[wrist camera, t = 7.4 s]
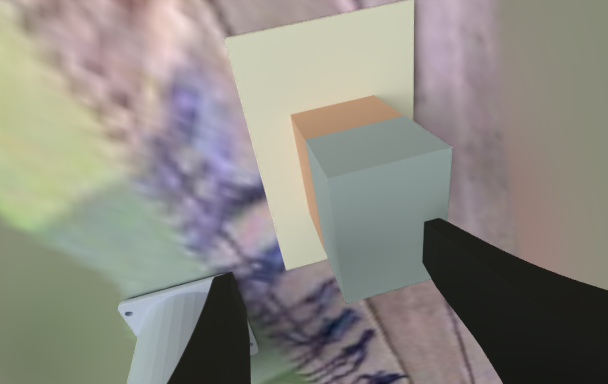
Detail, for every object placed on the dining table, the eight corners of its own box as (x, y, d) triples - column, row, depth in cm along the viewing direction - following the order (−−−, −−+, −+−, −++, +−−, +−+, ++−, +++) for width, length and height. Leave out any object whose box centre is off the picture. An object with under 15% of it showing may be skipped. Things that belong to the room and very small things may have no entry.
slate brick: (405, 228, 20) (443, 275, 17) (324, 250, 20) (346, 303, 16) (405, 115, 16) (452, 147, 13) (305, 139, 16) (327, 178, 13)
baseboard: (409, 230, 27) (412, 235, 26) (284, 264, 26) (286, 270, 25) (408, -1, 18) (413, -1, 18) (224, 37, 17) (224, 38, 17)
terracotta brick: (379, 195, 24) (405, 228, 20) (309, 213, 23) (324, 251, 20) (373, 95, 20) (404, 116, 17) (290, 114, 19) (304, 140, 16)
